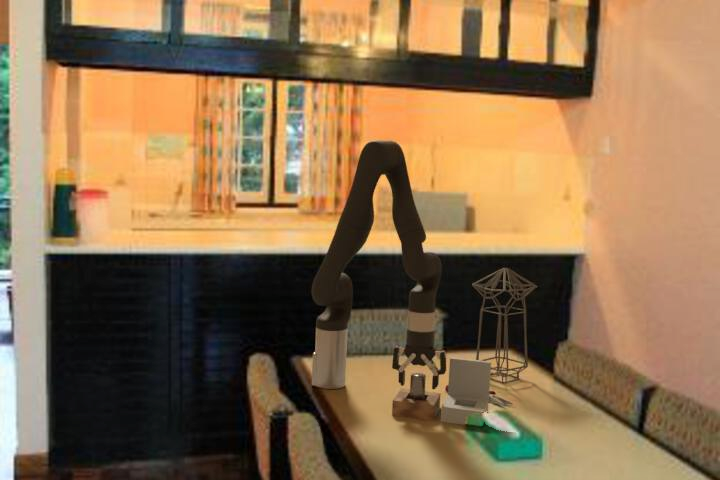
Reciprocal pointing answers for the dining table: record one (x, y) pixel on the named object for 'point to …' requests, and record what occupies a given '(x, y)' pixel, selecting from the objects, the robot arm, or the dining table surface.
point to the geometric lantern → (493, 285)
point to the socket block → (416, 405)
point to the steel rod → (417, 386)
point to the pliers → (493, 398)
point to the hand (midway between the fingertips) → (418, 386)
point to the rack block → (466, 389)
